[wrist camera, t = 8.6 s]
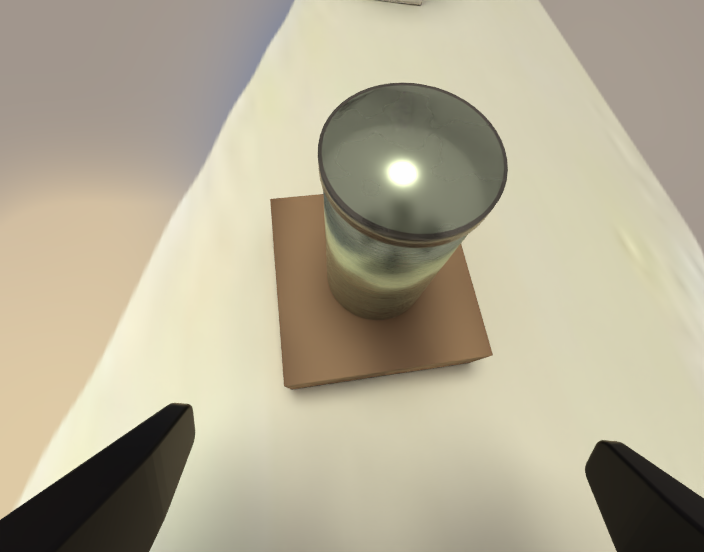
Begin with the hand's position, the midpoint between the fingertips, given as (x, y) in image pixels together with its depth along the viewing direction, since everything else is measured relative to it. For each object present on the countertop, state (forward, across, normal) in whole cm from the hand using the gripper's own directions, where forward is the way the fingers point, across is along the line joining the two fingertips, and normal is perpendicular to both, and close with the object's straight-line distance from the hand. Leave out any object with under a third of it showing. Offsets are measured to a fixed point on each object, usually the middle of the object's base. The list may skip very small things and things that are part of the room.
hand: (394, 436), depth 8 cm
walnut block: (+13, 0, +3) cm, 13 cm away
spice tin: (+11, 0, +1) cm, 11 cm away
